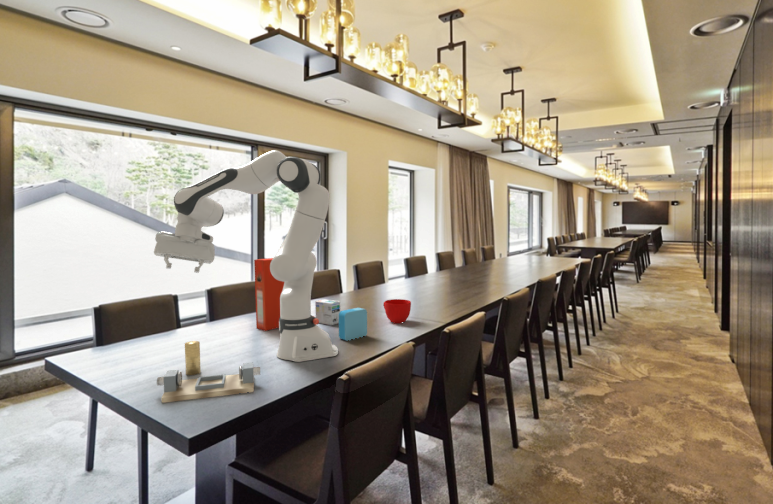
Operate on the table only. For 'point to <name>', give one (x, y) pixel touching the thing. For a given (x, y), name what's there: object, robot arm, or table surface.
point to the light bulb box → (327, 311)
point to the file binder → (267, 296)
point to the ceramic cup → (397, 310)
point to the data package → (352, 323)
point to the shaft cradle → (207, 384)
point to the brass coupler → (192, 357)
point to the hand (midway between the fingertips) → (182, 270)
